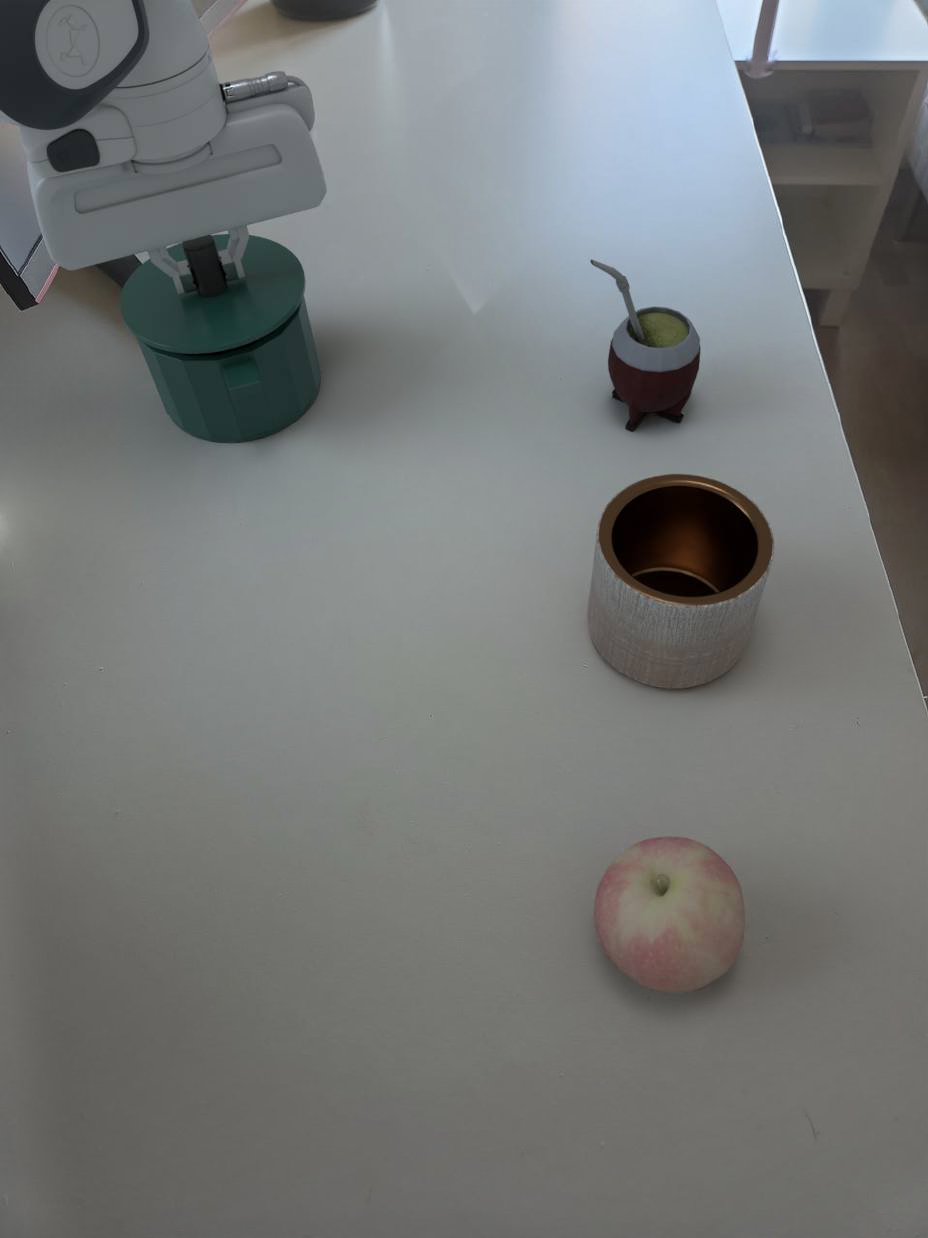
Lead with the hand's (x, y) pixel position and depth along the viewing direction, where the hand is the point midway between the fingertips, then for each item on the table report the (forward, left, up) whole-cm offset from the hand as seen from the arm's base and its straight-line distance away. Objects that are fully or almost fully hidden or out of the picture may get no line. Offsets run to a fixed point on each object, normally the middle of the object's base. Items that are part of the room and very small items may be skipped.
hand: (210, 282), depth 74 cm
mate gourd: (+30, -16, -11) cm, 36 cm away
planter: (+22, -36, -11) cm, 44 cm away
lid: (0, 0, -1) cm, 1 cm away
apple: (+12, -55, -11) cm, 57 cm away
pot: (0, 0, -11) cm, 11 cm away
